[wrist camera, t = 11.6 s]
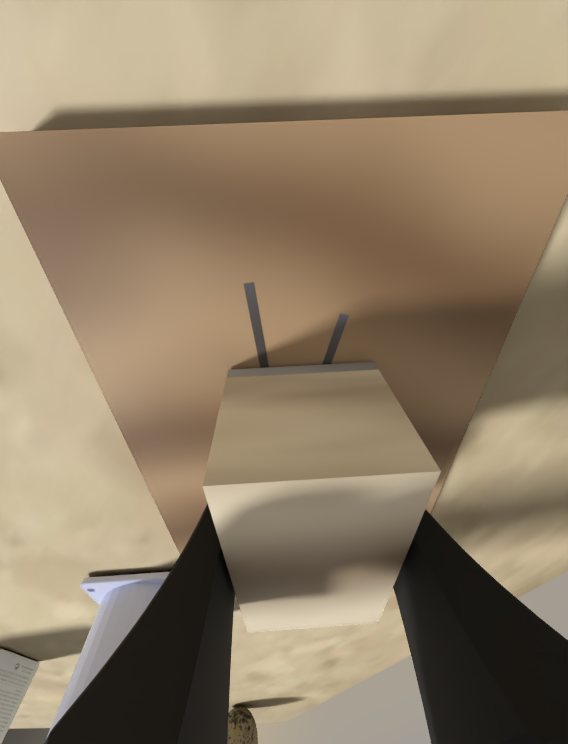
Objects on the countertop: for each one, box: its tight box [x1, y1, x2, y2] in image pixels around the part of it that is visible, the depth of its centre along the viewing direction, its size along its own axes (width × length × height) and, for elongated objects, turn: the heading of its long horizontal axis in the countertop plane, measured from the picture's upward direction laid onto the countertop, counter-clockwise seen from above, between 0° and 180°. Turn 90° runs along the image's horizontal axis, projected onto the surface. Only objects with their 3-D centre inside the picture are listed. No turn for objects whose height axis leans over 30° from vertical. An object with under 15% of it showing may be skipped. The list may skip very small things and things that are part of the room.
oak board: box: [0, 111, 568, 555], centre depth 12 cm, size 20×14×1 cm
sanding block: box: [202, 362, 441, 633], centre depth 10 cm, size 9×5×4 cm, turn 2°
